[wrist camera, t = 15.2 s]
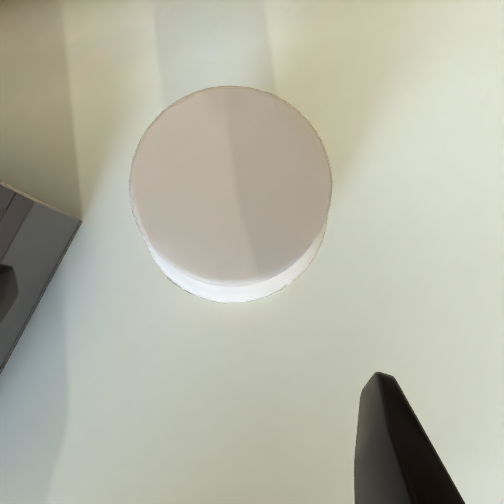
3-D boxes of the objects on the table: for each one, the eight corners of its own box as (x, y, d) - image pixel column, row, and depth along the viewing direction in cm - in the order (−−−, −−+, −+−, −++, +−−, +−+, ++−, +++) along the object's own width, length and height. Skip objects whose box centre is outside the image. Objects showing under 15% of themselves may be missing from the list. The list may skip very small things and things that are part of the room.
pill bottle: (176, 185, 19) (96, 69, 9) (293, 176, 19) (341, 51, 9) (184, 302, 18) (107, 317, 8) (304, 292, 18) (369, 296, 8)
